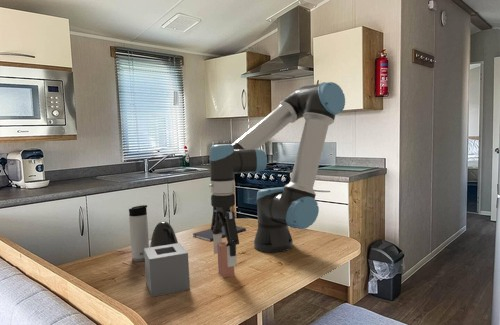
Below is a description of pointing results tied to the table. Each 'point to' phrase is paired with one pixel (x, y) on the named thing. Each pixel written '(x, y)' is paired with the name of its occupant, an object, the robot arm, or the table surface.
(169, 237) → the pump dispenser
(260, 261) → the table surface
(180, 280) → the socket block
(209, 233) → the notebook
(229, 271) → the peg
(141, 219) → the travel mug
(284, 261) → the table surface
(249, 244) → the table surface
